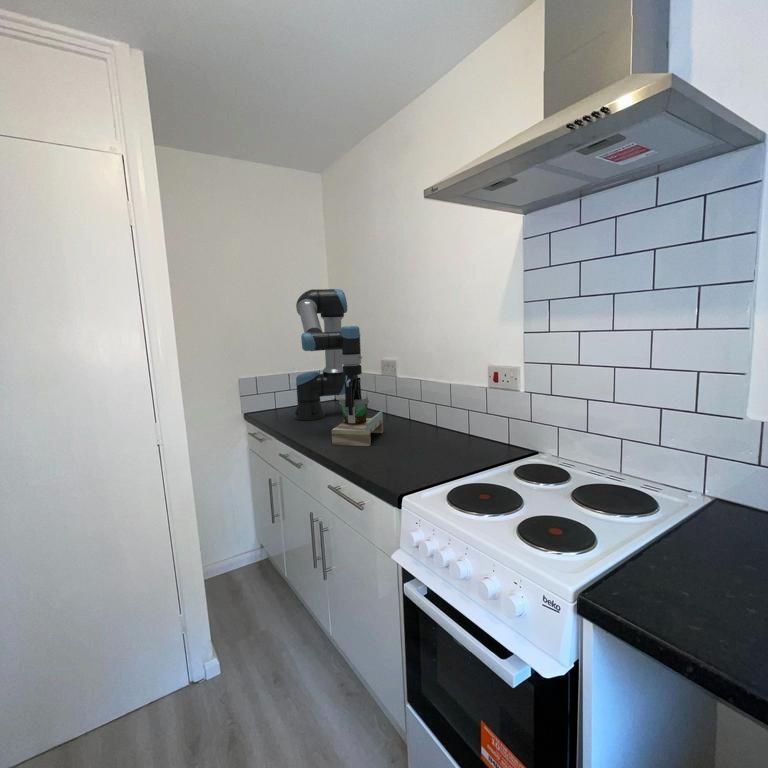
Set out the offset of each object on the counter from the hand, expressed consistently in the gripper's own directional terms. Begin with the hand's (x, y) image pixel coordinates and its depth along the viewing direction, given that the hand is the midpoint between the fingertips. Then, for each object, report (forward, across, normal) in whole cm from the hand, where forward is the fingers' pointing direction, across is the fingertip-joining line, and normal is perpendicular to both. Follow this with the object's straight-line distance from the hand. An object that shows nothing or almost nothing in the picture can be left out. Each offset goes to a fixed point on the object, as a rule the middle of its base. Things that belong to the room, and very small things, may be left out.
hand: (354, 420), depth 171 cm
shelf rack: (+7, 0, -2) cm, 7 cm away
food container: (+1, 0, 0) cm, 1 cm away
